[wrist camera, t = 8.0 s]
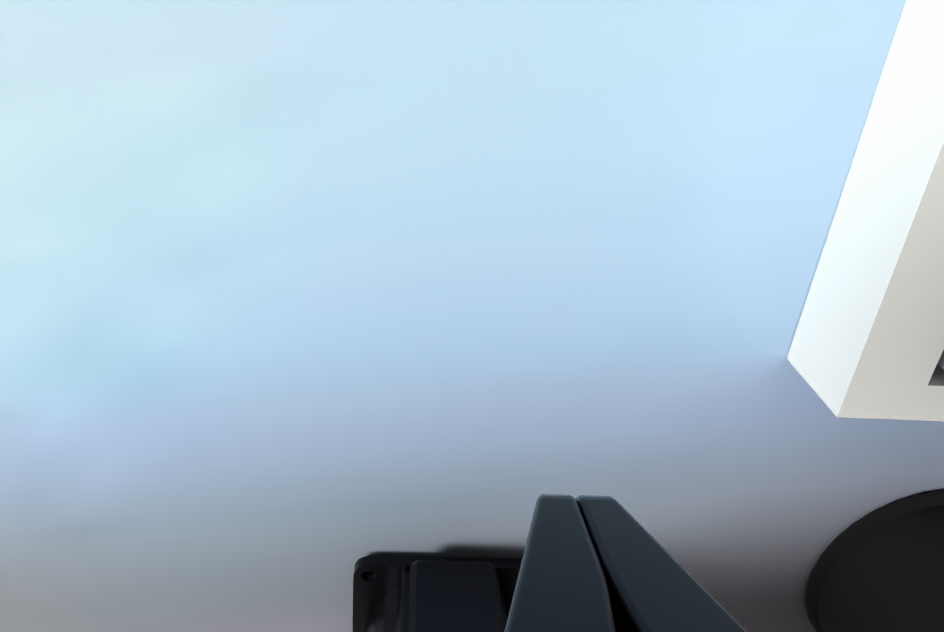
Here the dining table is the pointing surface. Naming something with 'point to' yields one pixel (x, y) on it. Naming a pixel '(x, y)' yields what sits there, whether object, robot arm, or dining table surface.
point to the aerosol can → (883, 571)
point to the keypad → (887, 247)
